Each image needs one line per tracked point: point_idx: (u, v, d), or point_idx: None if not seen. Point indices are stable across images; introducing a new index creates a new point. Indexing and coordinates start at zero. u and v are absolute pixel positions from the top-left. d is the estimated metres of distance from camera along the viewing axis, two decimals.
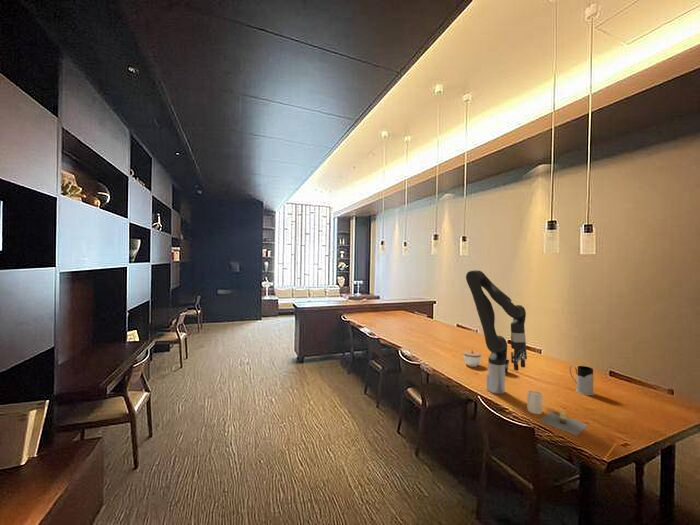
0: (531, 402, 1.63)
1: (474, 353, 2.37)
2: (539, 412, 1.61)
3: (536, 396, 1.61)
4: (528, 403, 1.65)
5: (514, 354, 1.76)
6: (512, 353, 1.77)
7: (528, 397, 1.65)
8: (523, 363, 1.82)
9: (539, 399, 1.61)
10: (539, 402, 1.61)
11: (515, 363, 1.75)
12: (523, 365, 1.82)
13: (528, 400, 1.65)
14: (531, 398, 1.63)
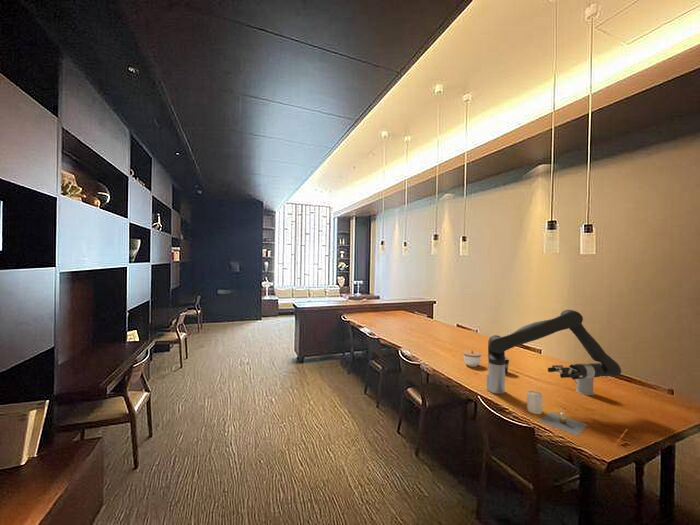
0: (531, 402, 1.63)
1: (474, 353, 2.37)
2: (539, 412, 1.61)
3: (536, 396, 1.61)
4: (528, 403, 1.65)
5: (580, 377, 1.60)
6: (581, 375, 1.60)
7: (528, 397, 1.65)
8: (552, 370, 1.70)
9: (539, 399, 1.61)
10: (539, 402, 1.61)
11: (572, 378, 1.60)
12: (550, 370, 1.70)
13: (528, 400, 1.65)
14: (531, 398, 1.63)
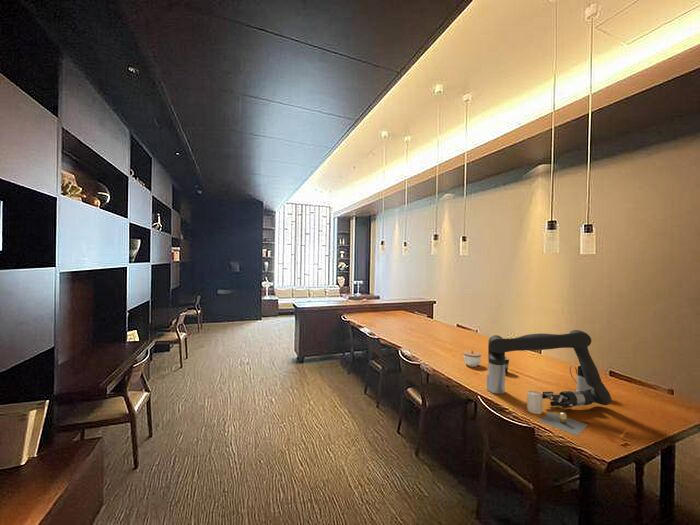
0: (531, 402, 1.63)
1: (474, 353, 2.37)
2: (539, 412, 1.61)
3: (536, 396, 1.61)
4: (528, 403, 1.65)
5: (570, 406, 1.60)
6: (571, 403, 1.60)
7: (528, 397, 1.65)
8: (543, 397, 1.69)
9: (539, 399, 1.61)
10: (539, 402, 1.61)
11: (562, 407, 1.59)
12: None
13: (528, 400, 1.65)
14: (531, 398, 1.63)
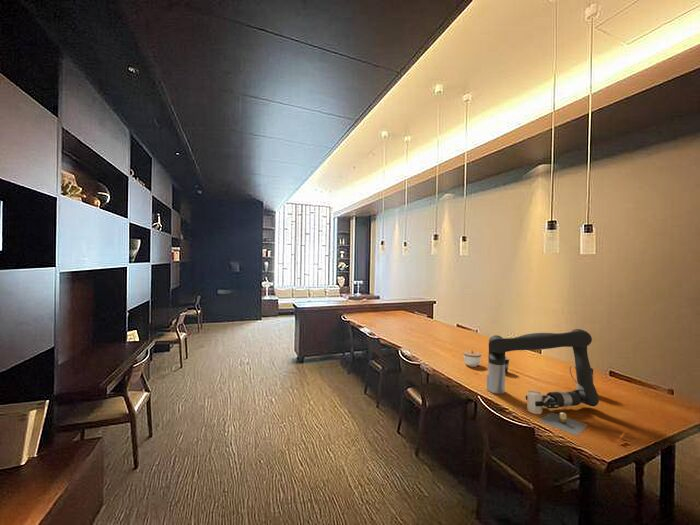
0: (531, 402, 1.63)
1: (474, 353, 2.37)
2: (539, 412, 1.61)
3: (536, 396, 1.61)
4: (528, 403, 1.65)
5: (556, 406, 1.59)
6: (557, 404, 1.59)
7: (528, 397, 1.65)
8: None
9: (539, 399, 1.61)
10: None
11: (547, 407, 1.59)
12: None
13: (528, 400, 1.65)
14: (531, 398, 1.63)
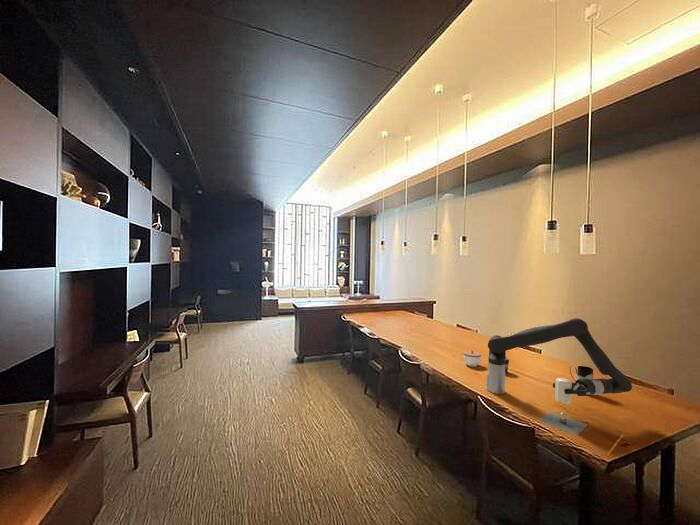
0: (560, 390, 1.51)
1: (474, 353, 2.37)
2: (569, 400, 1.49)
3: (565, 383, 1.49)
4: (556, 391, 1.53)
5: (588, 394, 1.47)
6: (589, 392, 1.47)
7: (556, 384, 1.53)
8: None
9: (569, 386, 1.49)
10: None
11: (578, 395, 1.47)
12: None
13: (556, 388, 1.53)
14: (559, 385, 1.51)
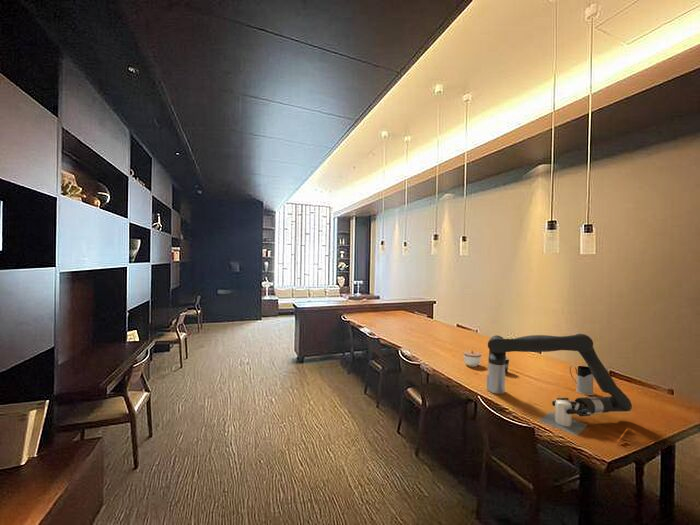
0: (560, 412, 1.51)
1: (474, 353, 2.37)
2: (568, 423, 1.49)
3: (565, 406, 1.50)
4: (556, 413, 1.53)
5: (588, 414, 1.47)
6: (589, 411, 1.47)
7: (556, 407, 1.53)
8: None
9: None
10: None
11: (579, 415, 1.46)
12: None
13: (556, 410, 1.53)
14: (559, 408, 1.51)
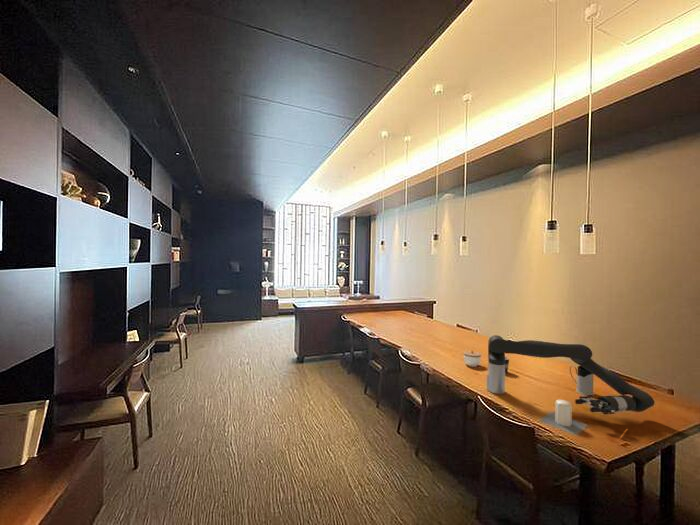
0: (560, 412, 1.51)
1: (474, 353, 2.37)
2: (568, 423, 1.49)
3: (565, 406, 1.50)
4: (556, 413, 1.53)
5: (612, 412, 1.48)
6: (613, 409, 1.48)
7: (556, 407, 1.53)
8: (580, 402, 1.58)
9: (568, 409, 1.49)
10: (568, 412, 1.49)
11: (604, 413, 1.47)
12: (578, 402, 1.58)
13: (556, 410, 1.53)
14: (559, 408, 1.51)
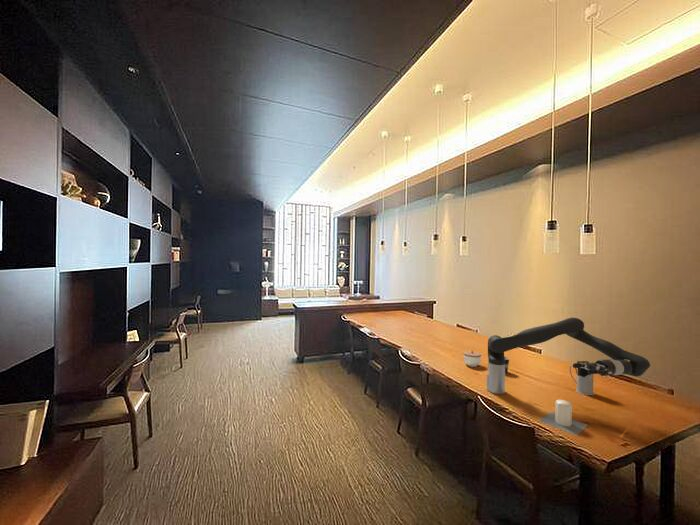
0: (560, 412, 1.51)
1: (474, 353, 2.37)
2: (568, 423, 1.49)
3: (565, 406, 1.50)
4: (556, 413, 1.53)
5: (610, 373, 1.50)
6: (611, 371, 1.50)
7: (556, 407, 1.53)
8: (578, 366, 1.60)
9: (568, 409, 1.49)
10: (568, 412, 1.49)
11: (601, 375, 1.49)
12: (576, 366, 1.60)
13: (556, 410, 1.53)
14: (559, 408, 1.51)
